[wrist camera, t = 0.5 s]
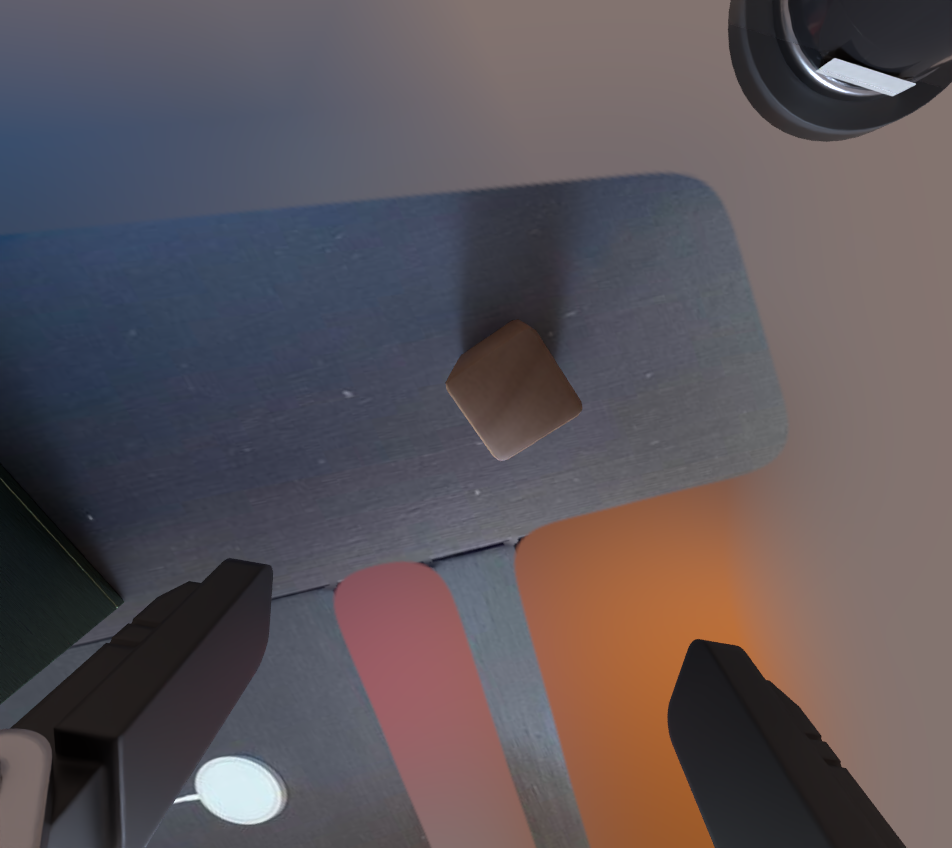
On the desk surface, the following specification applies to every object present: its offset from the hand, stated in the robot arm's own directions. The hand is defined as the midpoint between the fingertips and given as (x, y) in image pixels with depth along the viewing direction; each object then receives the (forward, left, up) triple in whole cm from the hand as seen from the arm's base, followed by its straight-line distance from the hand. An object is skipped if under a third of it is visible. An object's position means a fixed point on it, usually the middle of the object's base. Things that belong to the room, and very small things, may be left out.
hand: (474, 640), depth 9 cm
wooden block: (-3, 0, -18) cm, 18 cm away
